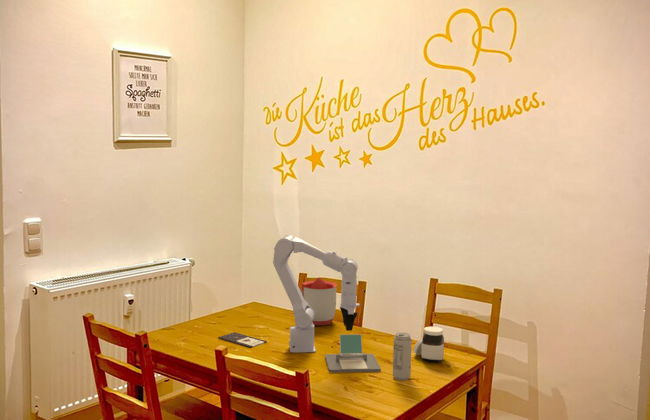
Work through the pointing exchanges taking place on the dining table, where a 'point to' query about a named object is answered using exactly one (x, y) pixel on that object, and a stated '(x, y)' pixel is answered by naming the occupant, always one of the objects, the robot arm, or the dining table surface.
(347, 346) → the tile
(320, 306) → the citrus juicer
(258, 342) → the chocolate bar
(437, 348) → the spread jar
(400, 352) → the energy drink can
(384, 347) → the dining table surface
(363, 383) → the dining table surface
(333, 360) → the grey flat piece
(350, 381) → the dining table surface
